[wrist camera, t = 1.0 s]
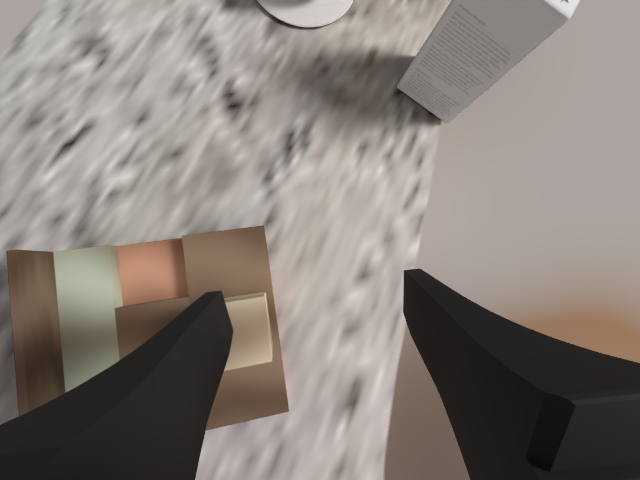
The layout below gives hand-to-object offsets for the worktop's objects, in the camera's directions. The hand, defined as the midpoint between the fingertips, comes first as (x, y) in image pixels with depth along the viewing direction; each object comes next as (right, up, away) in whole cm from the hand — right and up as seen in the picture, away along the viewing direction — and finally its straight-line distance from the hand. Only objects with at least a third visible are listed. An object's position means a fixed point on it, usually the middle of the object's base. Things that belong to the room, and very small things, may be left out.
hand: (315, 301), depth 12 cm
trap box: (-11, -4, +11) cm, 16 cm away
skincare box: (+11, +17, +16) cm, 25 cm away
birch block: (-6, -4, +10) cm, 12 cm away
